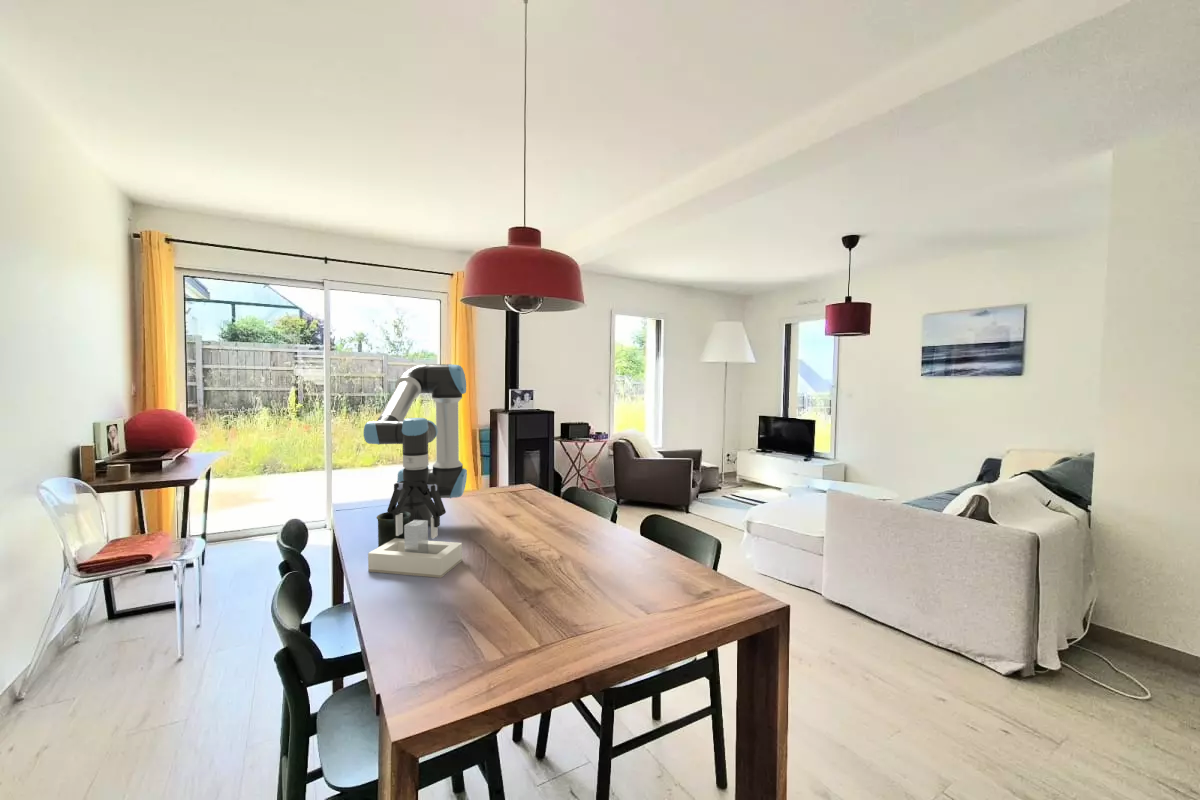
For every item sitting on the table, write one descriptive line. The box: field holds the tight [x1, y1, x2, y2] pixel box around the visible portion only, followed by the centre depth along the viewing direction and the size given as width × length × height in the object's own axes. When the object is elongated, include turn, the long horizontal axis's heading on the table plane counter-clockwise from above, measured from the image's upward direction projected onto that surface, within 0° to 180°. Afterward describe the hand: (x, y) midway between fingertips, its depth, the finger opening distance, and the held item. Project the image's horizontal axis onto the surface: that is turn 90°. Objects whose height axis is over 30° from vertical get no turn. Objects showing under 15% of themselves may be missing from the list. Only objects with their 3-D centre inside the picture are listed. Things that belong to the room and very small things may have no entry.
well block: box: [367, 538, 463, 579], centre depth 155 cm, size 14×24×6 cm, turn 80°
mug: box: [376, 511, 411, 548], centre depth 170 cm, size 11×15×12 cm
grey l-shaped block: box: [404, 520, 429, 554], centre depth 154 cm, size 6×10×13 cm, turn 80°
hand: (416, 535), depth 155 cm, fingers open, 11 cm apart
